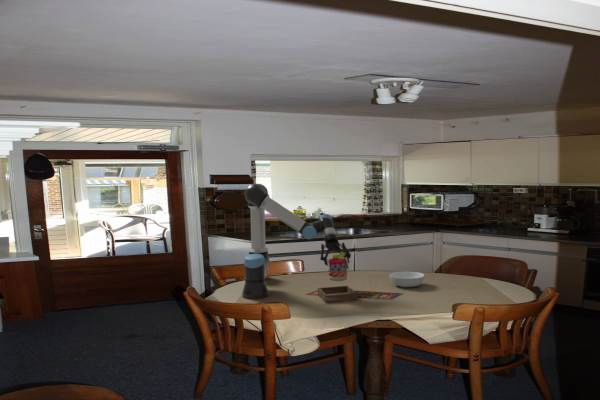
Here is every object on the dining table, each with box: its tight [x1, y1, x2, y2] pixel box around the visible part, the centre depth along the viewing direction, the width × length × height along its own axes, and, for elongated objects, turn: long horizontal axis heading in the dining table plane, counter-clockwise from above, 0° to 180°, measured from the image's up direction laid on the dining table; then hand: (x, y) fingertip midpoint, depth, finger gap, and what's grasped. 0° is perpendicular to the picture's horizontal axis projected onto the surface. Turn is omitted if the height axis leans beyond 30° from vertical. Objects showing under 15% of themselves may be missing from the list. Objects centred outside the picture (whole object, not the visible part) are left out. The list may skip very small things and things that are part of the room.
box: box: [317, 285, 359, 304], centre depth 261 cm, size 18×18×4 cm
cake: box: [328, 252, 348, 282], centre depth 259 cm, size 10×11×15 cm
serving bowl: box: [388, 271, 426, 288], centre depth 283 cm, size 21×21×7 cm
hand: (338, 268), depth 257 cm, fingers closed on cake, 10 cm apart
